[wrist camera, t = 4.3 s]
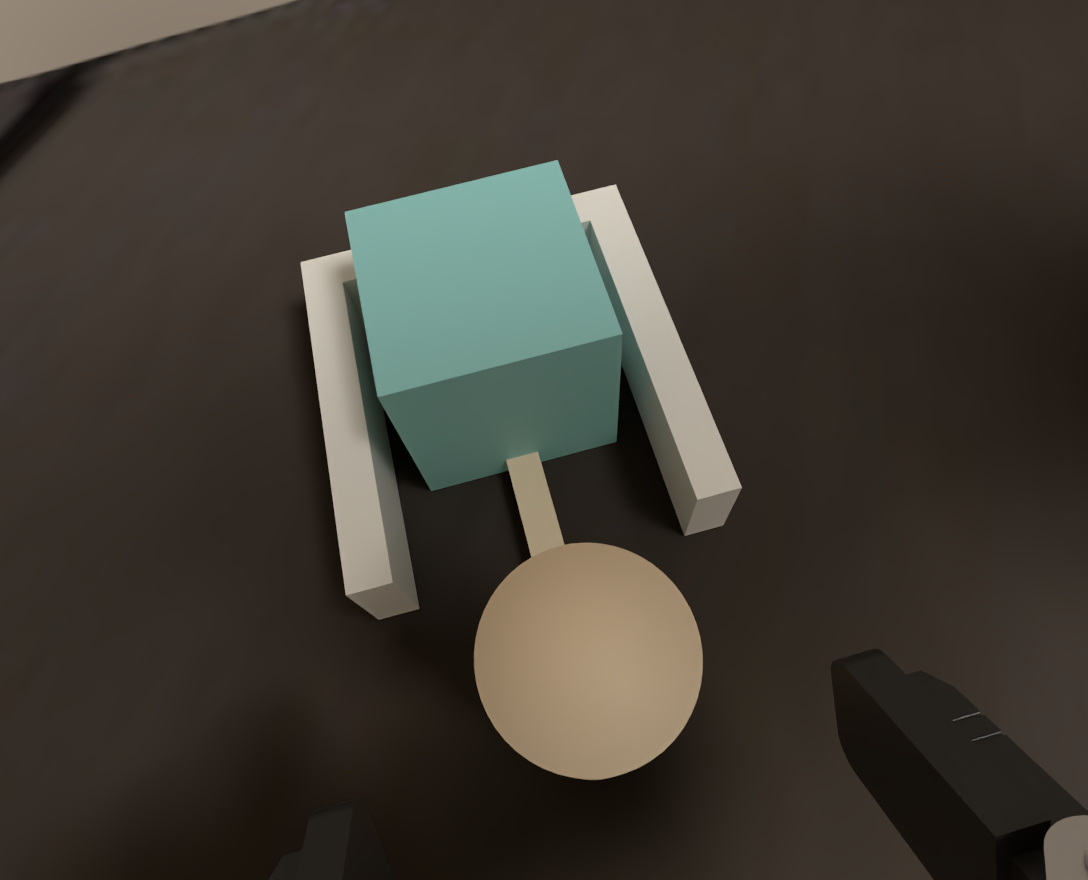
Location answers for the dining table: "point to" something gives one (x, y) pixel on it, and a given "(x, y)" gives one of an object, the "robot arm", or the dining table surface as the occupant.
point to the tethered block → (527, 456)
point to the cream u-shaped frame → (361, 433)
